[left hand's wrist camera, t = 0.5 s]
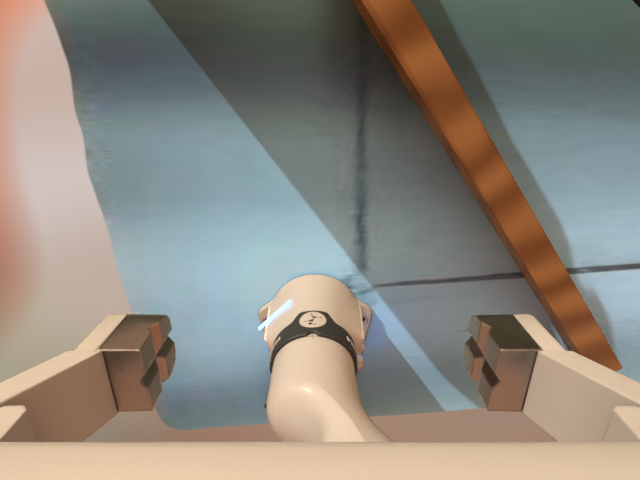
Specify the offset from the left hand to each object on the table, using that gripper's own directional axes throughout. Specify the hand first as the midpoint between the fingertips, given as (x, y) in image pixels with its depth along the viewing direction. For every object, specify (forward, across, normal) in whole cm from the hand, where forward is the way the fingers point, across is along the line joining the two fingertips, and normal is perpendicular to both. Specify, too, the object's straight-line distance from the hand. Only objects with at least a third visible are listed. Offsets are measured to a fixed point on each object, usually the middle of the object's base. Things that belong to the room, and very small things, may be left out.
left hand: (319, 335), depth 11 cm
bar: (+47, +25, -8) cm, 54 cm away
